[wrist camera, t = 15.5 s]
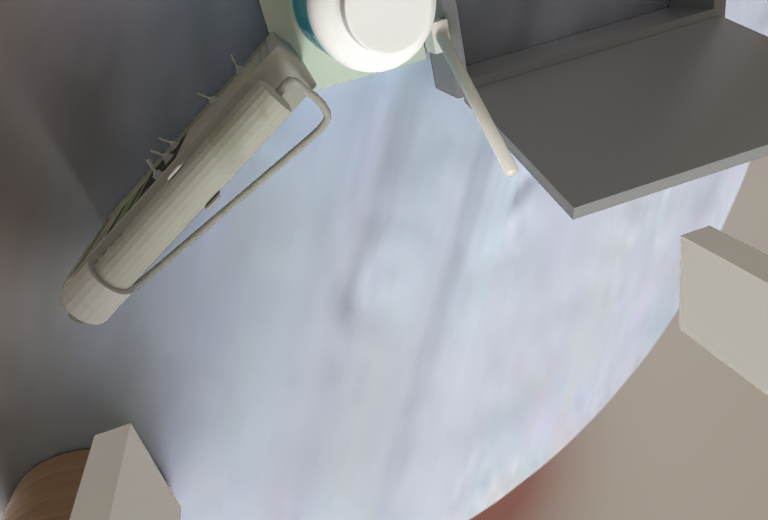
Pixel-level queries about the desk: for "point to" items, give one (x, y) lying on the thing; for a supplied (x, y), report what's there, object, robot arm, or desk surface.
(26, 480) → the lamp
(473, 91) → the case
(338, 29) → the pill bottle
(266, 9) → the mat
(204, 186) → the geiger counter
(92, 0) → the desk surface
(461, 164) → the desk surface
